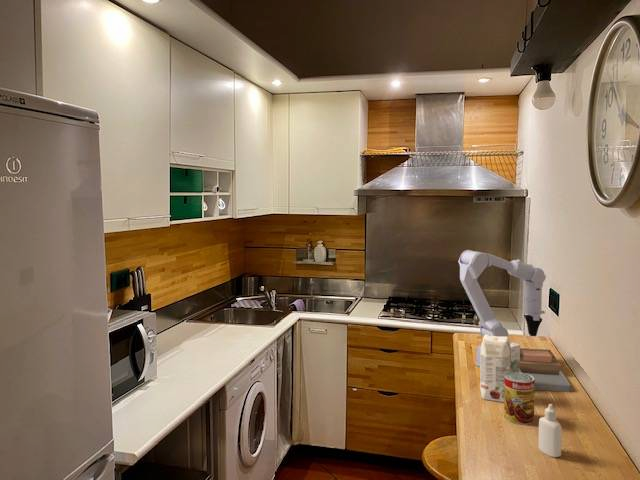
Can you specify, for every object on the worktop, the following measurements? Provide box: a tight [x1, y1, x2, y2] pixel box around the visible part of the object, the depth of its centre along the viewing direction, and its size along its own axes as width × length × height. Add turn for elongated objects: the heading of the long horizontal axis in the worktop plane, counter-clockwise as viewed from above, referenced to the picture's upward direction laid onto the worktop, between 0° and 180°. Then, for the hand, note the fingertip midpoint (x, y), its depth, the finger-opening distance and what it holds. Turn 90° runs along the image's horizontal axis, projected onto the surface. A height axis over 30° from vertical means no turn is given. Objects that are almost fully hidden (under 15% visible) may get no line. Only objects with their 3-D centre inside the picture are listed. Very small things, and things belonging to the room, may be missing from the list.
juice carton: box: [479, 335, 511, 403], centre depth 154 cm, size 8×9×19 cm
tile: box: [522, 350, 552, 362], centre depth 179 cm, size 6×9×2 cm, turn 76°
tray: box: [519, 368, 572, 393], centre depth 167 cm, size 14×14×2 cm
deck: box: [519, 347, 562, 375], centre depth 182 cm, size 18×14×4 cm
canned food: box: [503, 372, 535, 426], centre depth 140 cm, size 8×8×12 cm
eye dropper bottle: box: [537, 403, 563, 458], centre depth 121 cm, size 4×6×12 cm
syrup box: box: [510, 341, 521, 372], centre depth 163 cm, size 6×6×14 cm
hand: (532, 335), depth 186 cm, fingers closed
